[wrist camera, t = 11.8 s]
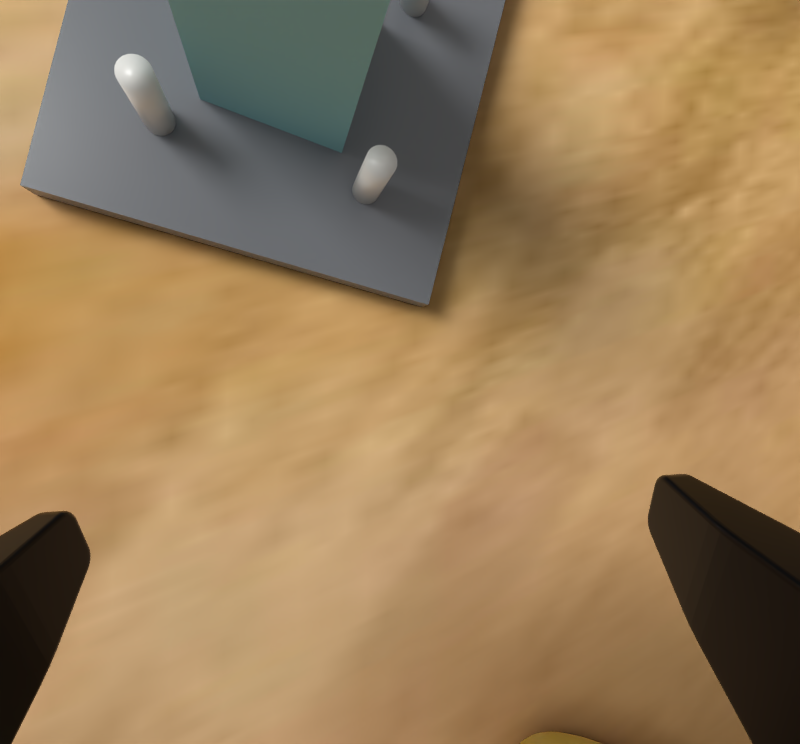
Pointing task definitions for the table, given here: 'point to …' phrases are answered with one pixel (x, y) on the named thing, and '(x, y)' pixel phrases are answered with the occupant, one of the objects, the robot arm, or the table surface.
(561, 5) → the table surface
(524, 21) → the table surface
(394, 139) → the base plate
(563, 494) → the table surface
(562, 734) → the banana
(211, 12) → the teal block
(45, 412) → the table surface
